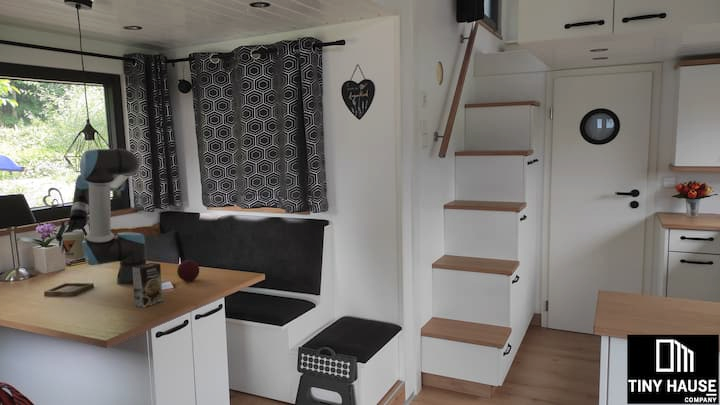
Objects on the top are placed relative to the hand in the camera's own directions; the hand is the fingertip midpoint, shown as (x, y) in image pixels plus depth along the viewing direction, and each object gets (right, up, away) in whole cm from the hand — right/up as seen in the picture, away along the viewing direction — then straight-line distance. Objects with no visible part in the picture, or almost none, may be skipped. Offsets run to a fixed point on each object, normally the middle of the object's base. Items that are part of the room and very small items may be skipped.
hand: (72, 251), depth 249 cm
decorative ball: (+53, -15, +4) cm, 55 cm away
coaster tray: (+4, -17, -10) cm, 20 cm away
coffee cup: (-1, -4, +4) cm, 5 cm away
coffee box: (+48, -19, -30) cm, 59 cm away
